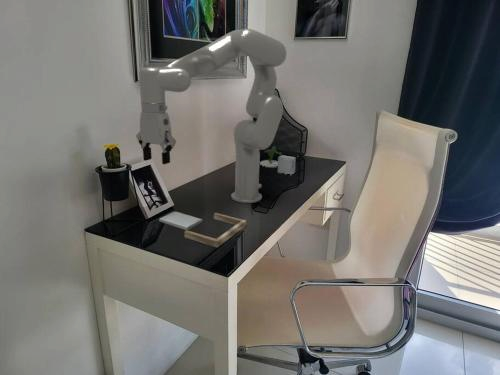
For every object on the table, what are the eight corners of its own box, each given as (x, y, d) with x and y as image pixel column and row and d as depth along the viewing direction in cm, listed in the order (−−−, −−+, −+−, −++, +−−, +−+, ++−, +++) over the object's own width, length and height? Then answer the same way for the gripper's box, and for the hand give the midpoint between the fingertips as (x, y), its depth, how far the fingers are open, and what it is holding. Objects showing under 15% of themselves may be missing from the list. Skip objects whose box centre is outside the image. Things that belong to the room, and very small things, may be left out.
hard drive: (202, 218, 118) (175, 210, 124) (187, 227, 111) (159, 218, 117) (202, 223, 118) (175, 214, 124) (187, 232, 112) (159, 222, 118)
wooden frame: (215, 217, 121) (215, 212, 121) (245, 226, 116) (246, 220, 115) (184, 237, 107) (184, 231, 106) (217, 247, 101) (217, 241, 101)
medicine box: (294, 173, 176) (296, 157, 173) (291, 175, 172) (292, 159, 169) (281, 171, 180) (282, 154, 177) (277, 172, 176) (278, 156, 173)
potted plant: (284, 163, 194) (286, 146, 190) (275, 168, 184) (276, 150, 180) (266, 160, 199) (266, 143, 196) (256, 165, 189) (256, 146, 186)
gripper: (182, 109, 109) (184, 163, 115) (142, 105, 117) (145, 155, 122) (166, 111, 103) (169, 168, 108) (124, 107, 110) (129, 160, 116)
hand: (156, 161), depth 115 cm, fingers open, 7 cm apart
